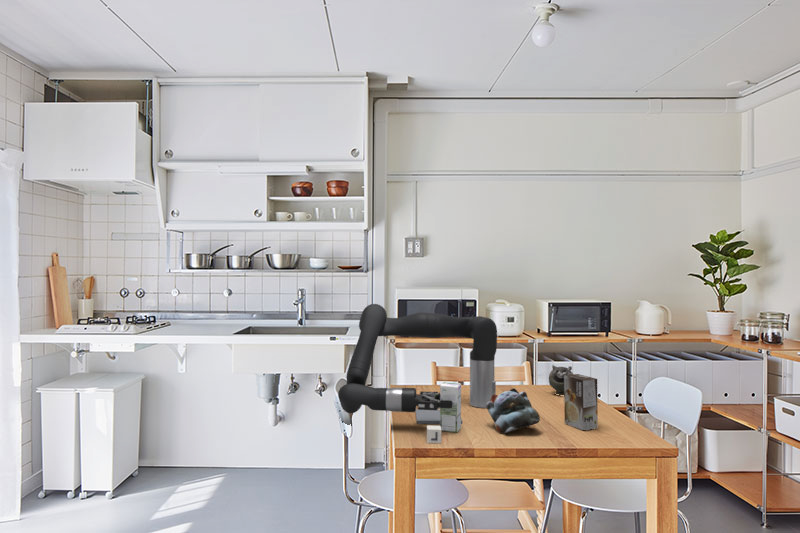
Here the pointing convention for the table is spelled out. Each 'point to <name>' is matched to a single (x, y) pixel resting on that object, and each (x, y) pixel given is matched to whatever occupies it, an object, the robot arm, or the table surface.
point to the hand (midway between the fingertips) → (452, 401)
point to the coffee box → (580, 401)
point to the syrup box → (451, 416)
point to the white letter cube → (433, 434)
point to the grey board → (428, 416)
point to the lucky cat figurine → (512, 411)
